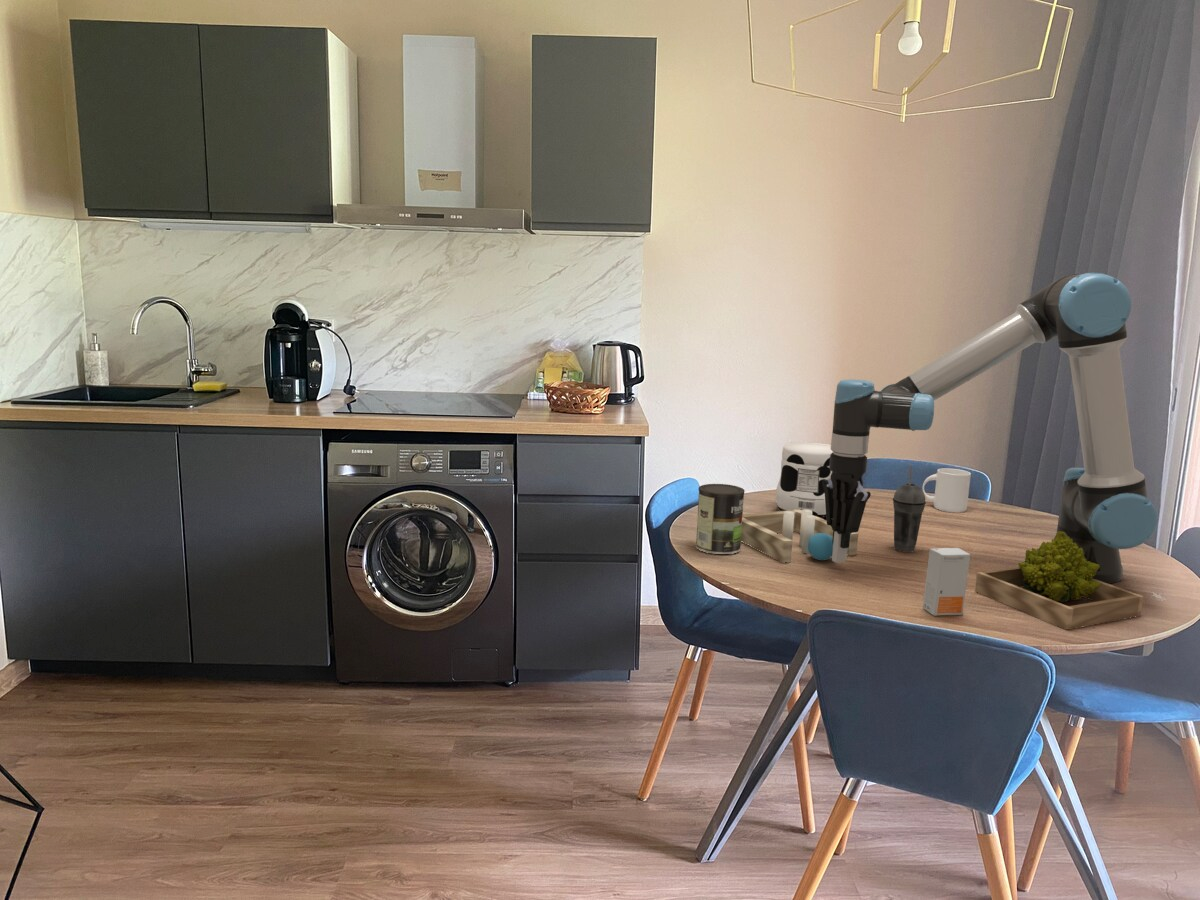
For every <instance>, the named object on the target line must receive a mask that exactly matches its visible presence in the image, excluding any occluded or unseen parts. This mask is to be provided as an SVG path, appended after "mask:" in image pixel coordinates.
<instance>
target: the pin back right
mask: <svg viewBox="0 0 1200 900" xmlns="http://www.w3.org/2000/svg"><path fill="white" fill-rule="evenodd" d="M804 515H812V510H807V509H804V510H802V514H801V526H800V533H799V539H798V540H799V541H798V547H800V548H802V538H803V525H804Z"/></svg>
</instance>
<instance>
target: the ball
mask: <svg viewBox="0 0 1200 900" xmlns="http://www.w3.org/2000/svg"><path fill="white" fill-rule="evenodd" d="M832 539H833V538H832V537H831V536H830V535H828V534H825V533H818V534H815V535H814V536H812V537H811V538H810V540H809V542H808V550H809V553H810V554H809V555H810V556H811V557H812V558H814V559H816V560H818V561H827V560H829V559H830V558H831V559H832V553H833V543H832Z"/></svg>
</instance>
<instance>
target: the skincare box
mask: <svg viewBox="0 0 1200 900" xmlns="http://www.w3.org/2000/svg"><path fill="white" fill-rule="evenodd" d="M970 560H971V554H970V553H968V552H967V551H965V550H963V549H961V548H960V547H942V548H941V547H940V548H929V552H928V561H927V562H928V563H927V569H926V577H925V578H926V579H925V585H924V586H925V587H924V594H923V595H924V596H923V603H922V609H924V610H925V611H927V612H928V613H930V614H931V615H932V616H935V617H936V616H963V614H964V606H965V598H966V592H967V591H966V590H967V584H968V575H969V568H970V562H971V561H970Z"/></svg>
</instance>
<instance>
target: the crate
mask: <svg viewBox="0 0 1200 900" xmlns="http://www.w3.org/2000/svg"><path fill="white" fill-rule="evenodd" d="M1024 578H1025V577H1024V576H1023V572H1022V571H1021V569H1020V567H1019V566H1015V567H1013V566H1012V567H1007V568H999V569H994V570H993V569H991V570H987V571H979V572H978V571H977V572H976V581H975V586H974V592H975V591H976V592H975V593H977V592H978V593H977V594H980V595H983V596H984V597H987V598H989V599H992V600H995V601H996V602H999V603H1001V602H1002V603H1001V604H1004V605H1007V606H1009V607H1010V608H1013V609H1016V610H1018V611H1020V612H1023V613H1024V614H1028V615H1030V616H1032V617H1035V618H1037V619H1040V620H1042V621H1043V622H1047V623H1048V624H1051V623H1052V625H1053V624H1054V626H1056V625H1057V626H1056V627H1058V626H1059V627H1058V628H1061V627H1062V628H1061V629H1063V628H1064V630H1065V629H1070V630H1073V629H1072V628H1075V629H1077V628H1076V627H1080V628H1083V627H1082V626H1086V627H1090V626H1089V625H1091V626H1095V625H1094V624H1097V625H1101V624H1100V623H1102V624H1106V623H1105V622H1107V623H1111V622H1110V621H1113V622H1116V621H1115V620H1118V621H1120V620H1119V619H1123V620H1125V619H1124V618H1129V619H1131V618H1130V617H1134V618H1136V617H1135V616H1140V617H1141V615H1142V611H1143V610H1142V609H1143V604H1144V595H1141V594H1138V593H1135V592H1133V591H1130V590H1127V589H1123V588H1121V587H1118V586H1115V585H1113V584H1111V583H1104V582H1102V581H1099V580H1096V579H1092V580H1093V581H1096V582H1098V583H1101V585H1100V586H1099V587H1098V588H1097V589H1096V590H1095V591H1094V592H1092V594H1088V597H1086V598H1085V599H1088V598H1089V599H1088V600H1090V599H1091V600H1090V601H1092V602H1088V603H1087V602H1086V603H1081V604H1075V605H1070V606H1069V605H1066V604H1063V603H1061V602H1060V601H1057V602H1056V601H1054V600H1052V599H1048V598H1046V597H1043V596H1041V595H1038V594H1036V593H1033V592H1031V591H1028V590H1025V589H1023V588H1022V587H1023V584H1025V583H1024V582H1023V580H1024ZM1093 600H1094V601H1093Z"/></svg>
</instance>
